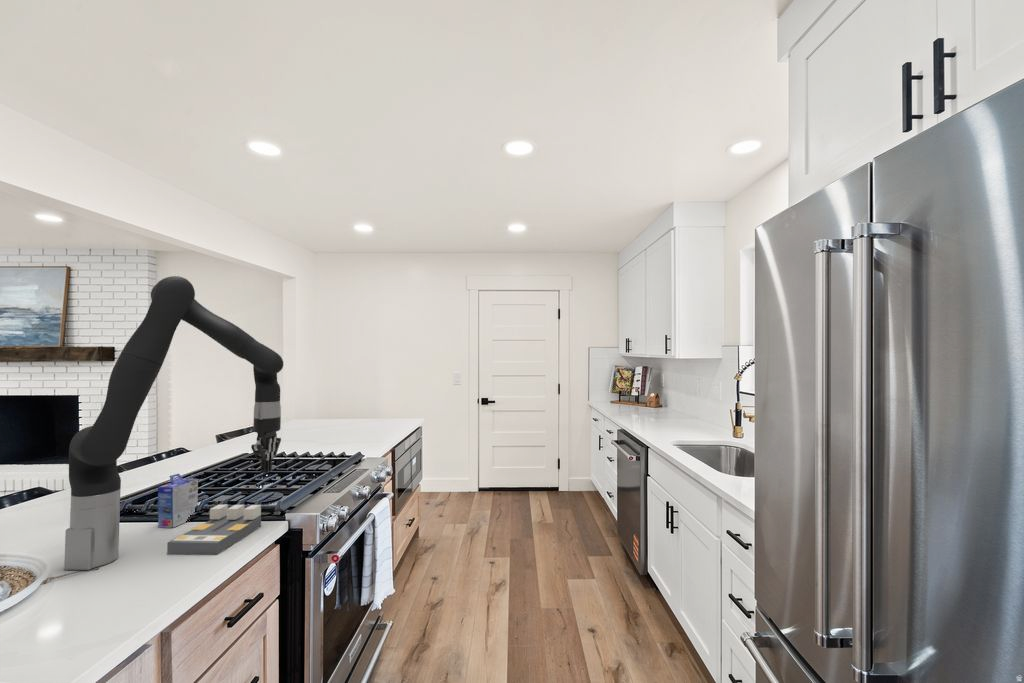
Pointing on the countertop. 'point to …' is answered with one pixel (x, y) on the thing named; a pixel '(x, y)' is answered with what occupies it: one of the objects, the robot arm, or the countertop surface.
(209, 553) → the switch board
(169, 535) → the countertop surface
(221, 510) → the tab
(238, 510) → the middle tab
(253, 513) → the tab
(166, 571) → the countertop surface
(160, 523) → the ink cartridge box
